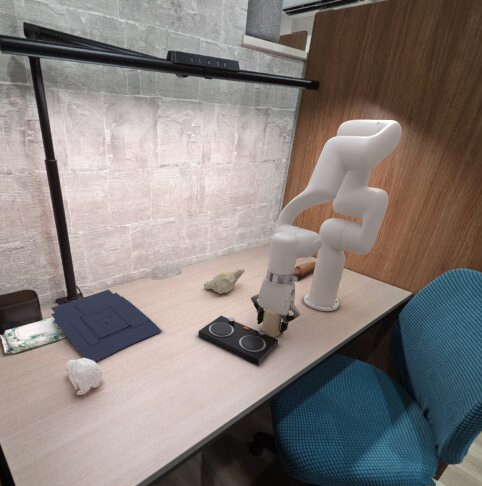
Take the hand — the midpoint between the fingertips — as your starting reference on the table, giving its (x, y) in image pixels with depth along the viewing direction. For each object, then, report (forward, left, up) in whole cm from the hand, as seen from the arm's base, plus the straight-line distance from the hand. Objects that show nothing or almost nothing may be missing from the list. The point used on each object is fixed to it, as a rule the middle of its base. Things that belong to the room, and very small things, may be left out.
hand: (271, 326), depth 100 cm
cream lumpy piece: (-16, -28, -2) cm, 33 cm away
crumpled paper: (+51, -25, -2) cm, 57 cm away
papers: (+32, -42, -2) cm, 53 cm away
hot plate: (+11, -5, -2) cm, 12 cm away
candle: (0, 0, -2) cm, 2 cm away
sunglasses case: (-53, -11, -2) cm, 54 cm away
